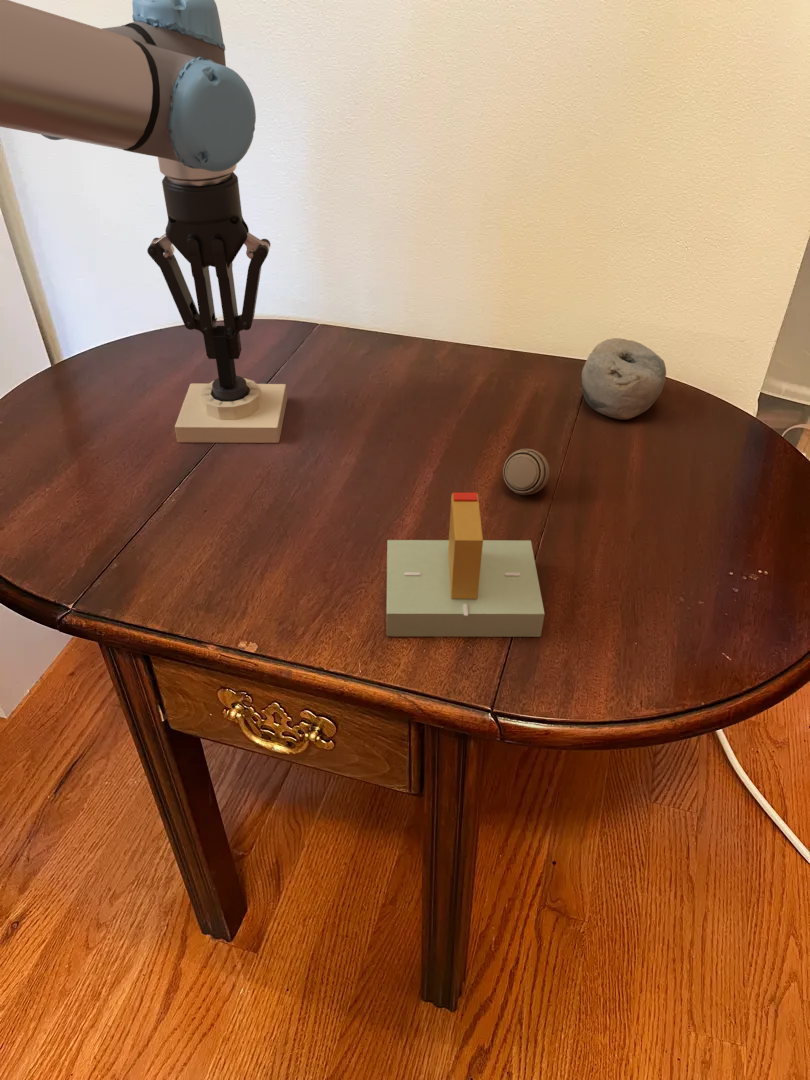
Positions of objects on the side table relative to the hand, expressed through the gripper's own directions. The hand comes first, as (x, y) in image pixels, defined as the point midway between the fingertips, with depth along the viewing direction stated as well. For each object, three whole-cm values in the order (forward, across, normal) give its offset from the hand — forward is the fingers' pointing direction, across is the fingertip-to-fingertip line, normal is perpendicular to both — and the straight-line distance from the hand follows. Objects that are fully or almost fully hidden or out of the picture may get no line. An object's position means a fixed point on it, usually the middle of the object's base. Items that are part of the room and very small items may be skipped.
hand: (228, 381), depth 99 cm
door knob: (+6, -34, +14) cm, 37 cm away
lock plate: (+5, -26, +31) cm, 41 cm away
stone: (+5, -48, -4) cm, 49 cm away
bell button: (+2, 0, 0) cm, 2 cm away
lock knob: (+2, -26, +31) cm, 41 cm away
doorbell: (+5, 0, 0) cm, 5 cm away
